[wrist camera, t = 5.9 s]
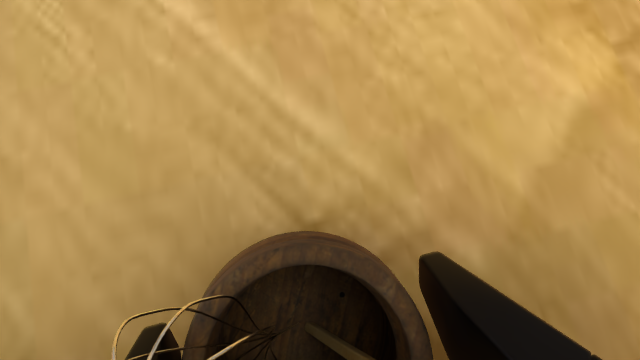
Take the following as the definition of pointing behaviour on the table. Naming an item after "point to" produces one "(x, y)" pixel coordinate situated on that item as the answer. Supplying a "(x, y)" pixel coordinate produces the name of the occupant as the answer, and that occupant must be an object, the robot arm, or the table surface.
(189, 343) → the utensil holder
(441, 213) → the table surface
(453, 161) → the table surface
